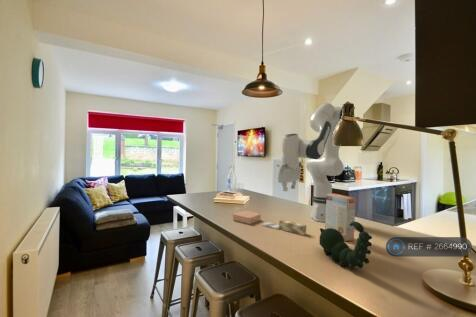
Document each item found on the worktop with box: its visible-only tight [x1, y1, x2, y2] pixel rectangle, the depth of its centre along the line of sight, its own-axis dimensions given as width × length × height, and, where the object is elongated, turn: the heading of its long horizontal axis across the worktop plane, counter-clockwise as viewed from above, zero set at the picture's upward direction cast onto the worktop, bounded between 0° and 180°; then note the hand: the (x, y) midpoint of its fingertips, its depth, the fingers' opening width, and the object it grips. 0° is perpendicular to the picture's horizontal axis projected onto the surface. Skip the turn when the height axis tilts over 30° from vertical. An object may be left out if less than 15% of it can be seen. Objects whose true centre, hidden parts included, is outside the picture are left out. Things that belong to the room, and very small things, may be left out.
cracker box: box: [324, 192, 357, 242], centre depth 123 cm, size 14×6×21 cm, turn 22°
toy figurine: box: [319, 220, 373, 270], centre depth 95 cm, size 9×19×25 cm
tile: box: [232, 210, 262, 225], centre depth 146 cm, size 4×12×12 cm
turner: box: [261, 219, 307, 236], centre depth 132 cm, size 24×6×4 cm, turn 52°
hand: (289, 189), depth 130 cm, fingers open, 8 cm apart
